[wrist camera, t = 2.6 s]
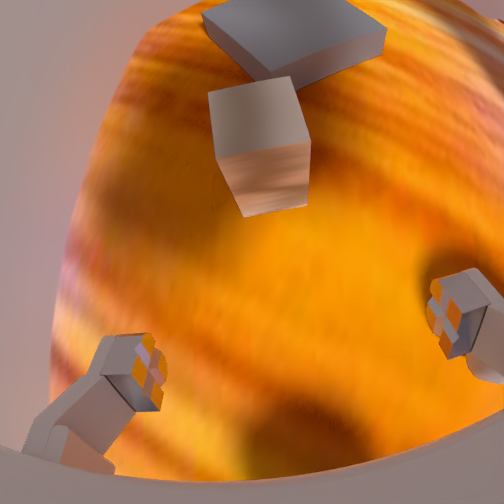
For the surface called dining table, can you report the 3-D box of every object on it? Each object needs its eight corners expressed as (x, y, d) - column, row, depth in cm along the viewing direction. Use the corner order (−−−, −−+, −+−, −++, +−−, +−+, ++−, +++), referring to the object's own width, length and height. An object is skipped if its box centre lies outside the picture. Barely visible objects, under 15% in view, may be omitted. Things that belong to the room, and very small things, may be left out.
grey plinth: (304, 1, 31) (303, -23, 27) (381, 54, 27) (387, 28, 23) (208, 37, 31) (200, 12, 27) (274, 101, 27) (270, 71, 23)
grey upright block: (293, 151, 25) (289, 75, 17) (307, 205, 24) (311, 140, 15) (234, 162, 26) (207, 92, 17) (243, 217, 24) (215, 159, 16)
